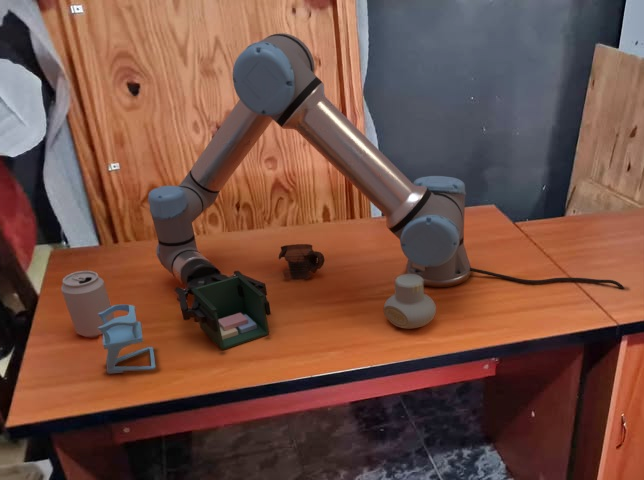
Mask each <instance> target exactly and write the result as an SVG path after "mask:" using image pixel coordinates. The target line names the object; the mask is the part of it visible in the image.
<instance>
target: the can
mask: <svg viewBox="0 0 644 480" xmlns="http://www.w3.org/2000/svg"><path fill="white" fill-rule="evenodd" d="M60 290H61V293H62V296H63V299H64V301H65V304H66V307H67V310H68V313H69V316H70V319H71V322H72V325H73V329H74V331H75V332H76V334H78V335H79V336H83V337H85V338H99V337H100V336H101V335H102V336H103V333H102V332H101V331H100V330H99V329H98V327H100V326H102V325H104V322H103V320H102V319H101V317H100V316H99V315H98V313H100V312H103V311H105V310H106V309H108V308H110V307H112V304H111V300H110V298H109V294H108V290H107V287H106V285H105V281H104V279H103V278H102V277H100V276H99V274H98V273H97V272H95V271H93V270H77V271H74V272H72V273H68V274H67V275H66V276H64V277H63V278H62V285H61V287H60ZM105 318H106V319H107V321H108V322H109V321H110V320H112V319H114V318H116V316H115V315H114V312H112V313H110V314H108V315H107V316H106V317H105Z"/></svg>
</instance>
